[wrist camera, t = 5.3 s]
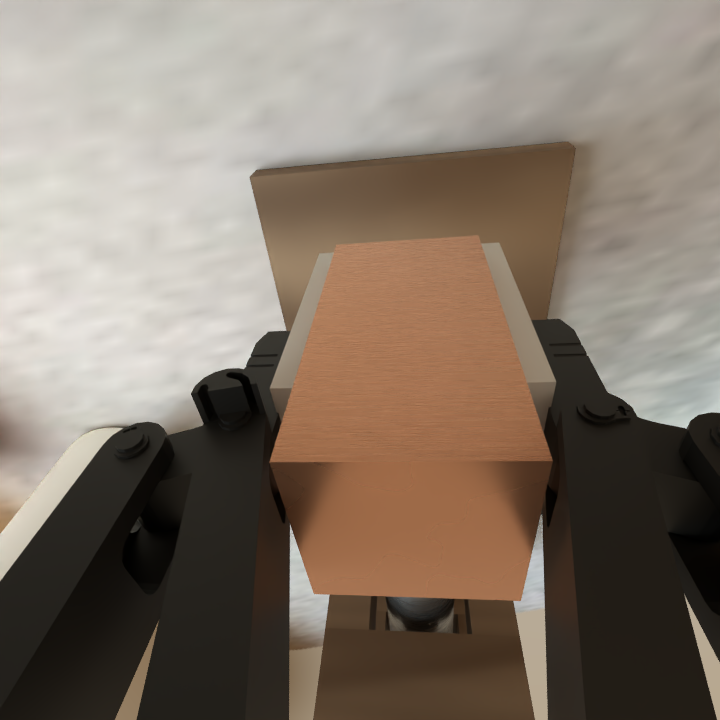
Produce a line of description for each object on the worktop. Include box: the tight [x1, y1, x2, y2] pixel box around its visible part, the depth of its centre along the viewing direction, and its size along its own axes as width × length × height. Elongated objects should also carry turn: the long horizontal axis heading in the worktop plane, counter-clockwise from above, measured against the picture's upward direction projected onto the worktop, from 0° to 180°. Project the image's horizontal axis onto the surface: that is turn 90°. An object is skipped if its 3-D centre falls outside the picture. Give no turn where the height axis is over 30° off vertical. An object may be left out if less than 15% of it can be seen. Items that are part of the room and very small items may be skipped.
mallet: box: [269, 235, 553, 633], centre depth 16 cm, size 22×4×8 cm, turn 6°
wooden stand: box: [250, 142, 576, 720], centre depth 20 cm, size 27×12×15 cm, turn 6°
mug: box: [0, 428, 123, 581], centre depth 26 cm, size 9×12×11 cm
